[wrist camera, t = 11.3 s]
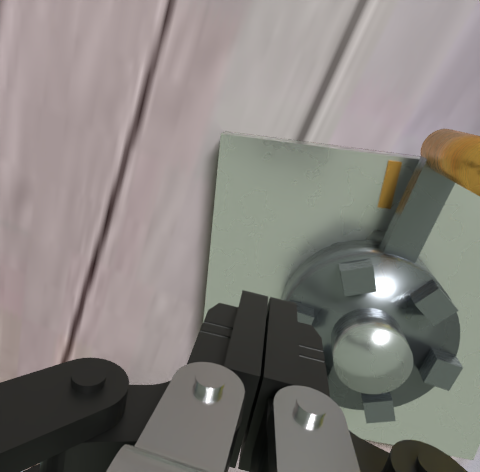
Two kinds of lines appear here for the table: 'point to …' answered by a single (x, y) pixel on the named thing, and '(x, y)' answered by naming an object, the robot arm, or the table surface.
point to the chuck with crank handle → (390, 294)
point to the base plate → (341, 230)
